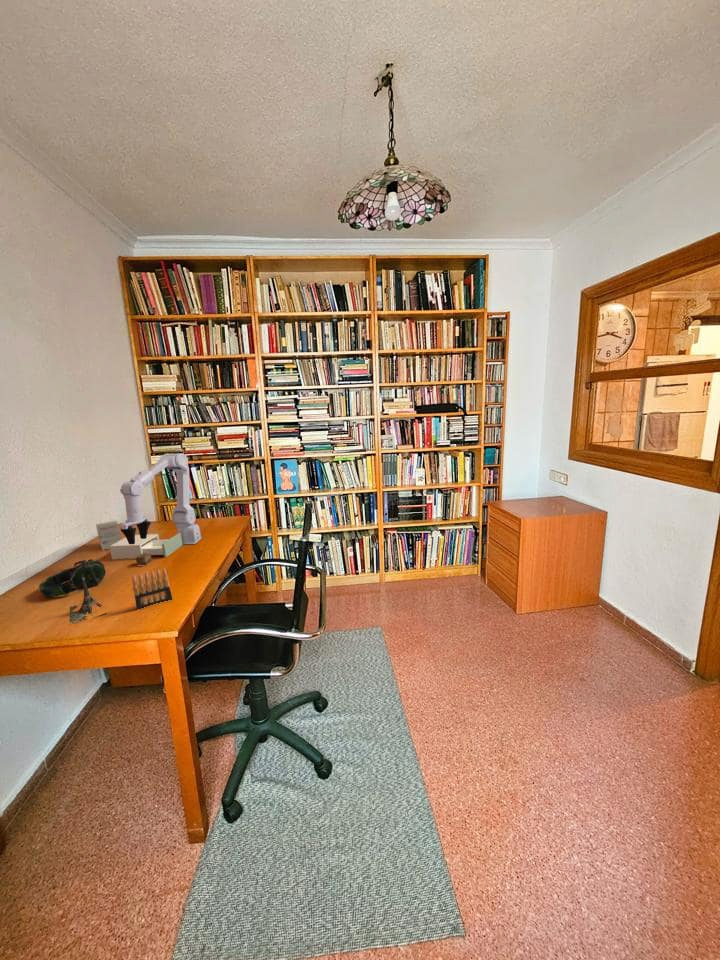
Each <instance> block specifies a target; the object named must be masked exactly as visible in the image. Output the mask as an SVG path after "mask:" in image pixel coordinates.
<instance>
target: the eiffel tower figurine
mask: <svg viewBox="0 0 720 960" xmlns="http://www.w3.org/2000/svg"><path fill="white" fill-rule="evenodd" d="M82 576H83V575H82ZM84 579H85V578H84V577H82V581H83V589H84V590H83V600H82V603H81V604H80V605H81V606H80V608H79V607H78V606H79V605H78V606H76V605H77V604H76V605H73V606H70V607H69V622H70V623H80V622H79V621H81V622H83V621H82V620H85V619H87V618H85V617H87V616H85V615H86V614H87V612H88V614H91V613H93V612H92V606H93V605H97V606H99V607H101V606H102V605H103V604H101V603H99V602H97V600H96V599H94V598H93V597H92V595H91V594H90V592H89V588H88V587H87V586H86V583H85V580H84ZM87 588H88V589H87ZM77 608H79V610H78V611H74V610H76V609H77ZM86 608H87V609H86ZM101 608H102V607H101ZM93 614H94V613H93ZM91 615H92V614H91ZM81 619H82V620H81ZM85 621H86V620H85Z"/></svg>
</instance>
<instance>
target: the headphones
mask: <svg viewBox="0 0 720 960" xmlns="http://www.w3.org/2000/svg"><path fill="white" fill-rule="evenodd" d="M106 572H107V571H106V568H105V564H103V562H102V561H100V560H97V559H96V560H93V559H88V560H86V559H84V560H79V561H77V562H74V565H73V567H70V568H67V569H64V570H60V571H59V572H57V573H54V574H52V575H50V576H48V577H47V578H45V579H44V580H43V581H42V582H41V583H40V584H39V586H38V589H39V590H40V593H41V594H42V596H43V597H44V598H53V597H55V598H56V597H61V596H64V595H69V594H70V593H72V592H74V591H76V592H80V591H84V588H83V581H82V577H84V578H85V579H84V580H85V583H86V586H87V589H88V590H89V589H90V588H92V587H91V586H94V587H96V586H97V585H99V584H101V582H102V581H103V580H104V578H105V577H106V574H107V573H106ZM82 575H83V576H82ZM89 587H90V588H89ZM77 588H81V589H77ZM82 588H83V589H82Z"/></svg>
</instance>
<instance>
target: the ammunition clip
mask: <svg viewBox="0 0 720 960" xmlns="http://www.w3.org/2000/svg"><path fill="white" fill-rule="evenodd" d="M150 578H151V579H150ZM131 580H132V589H133V595H134V600H135V606H136V607H135V608H136V611H139V610H138V609H140V610H142V609H141V608H143V609H145V608H144V607H147V606H150V605H153V604H156V603H160V602H164V601H167V602H169V601H168V600H171V601H173V600H172V599H173V596H172V591H171V586H170V580H169V577H168V572H167V570H166V568H165V567H163V568H162V574H161V571H160V569H159V568H157V569H156V575H155V572H154V571H153V570H151V572H150V576H149V574H148V572H147V571H145V573H144V577H143V575H142V573H138V579H137V577H136V575H135V574H133V575H132V579H131ZM138 583H139V584H138ZM164 603H165V602H164ZM150 607H151V606H150ZM147 608H148V607H147Z"/></svg>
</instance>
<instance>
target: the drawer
mask: <svg viewBox="0 0 720 960" xmlns="http://www.w3.org/2000/svg"><path fill="white" fill-rule="evenodd" d="M182 546H183V545H182V539H181V533H178V532H177V534H175V535H174V536H172V537H171V538H169V539H159V540H151V541H150V542H148V543H146V544H145V545H143V546H142V551H143V554H151V556H163V558H168V557H169V556H170V555H171V554H173V553H174V552H176V551H177V550H178V549H180V548H182Z"/></svg>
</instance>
